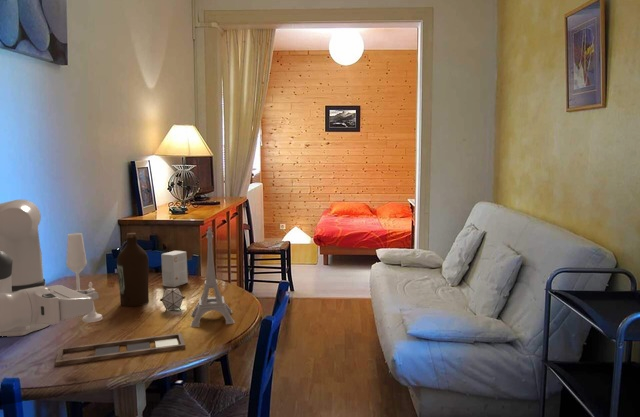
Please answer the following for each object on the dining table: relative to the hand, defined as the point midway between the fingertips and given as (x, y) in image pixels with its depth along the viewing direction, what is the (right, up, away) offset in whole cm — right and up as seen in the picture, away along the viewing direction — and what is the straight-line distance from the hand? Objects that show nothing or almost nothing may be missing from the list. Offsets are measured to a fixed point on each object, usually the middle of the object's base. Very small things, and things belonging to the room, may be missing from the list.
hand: (94, 293), depth 138 cm
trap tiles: (+5, -16, +5) cm, 18 cm away
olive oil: (-7, -11, +49) cm, 51 cm away
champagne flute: (-29, -11, +55) cm, 63 cm away
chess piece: (-1, -7, 0) cm, 7 cm away
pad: (+16, -16, +9) cm, 24 cm away
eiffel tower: (+24, -13, +31) cm, 42 cm away
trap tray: (+5, -16, +5) cm, 18 cm away
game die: (+9, -12, +41) cm, 43 cm away
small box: (+1, -8, +75) cm, 75 cm away
